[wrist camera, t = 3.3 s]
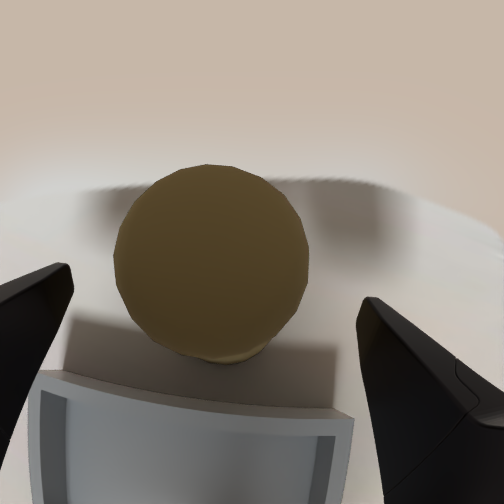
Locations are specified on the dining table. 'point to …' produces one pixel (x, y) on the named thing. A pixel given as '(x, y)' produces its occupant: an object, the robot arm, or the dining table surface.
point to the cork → (212, 263)
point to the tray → (178, 447)
